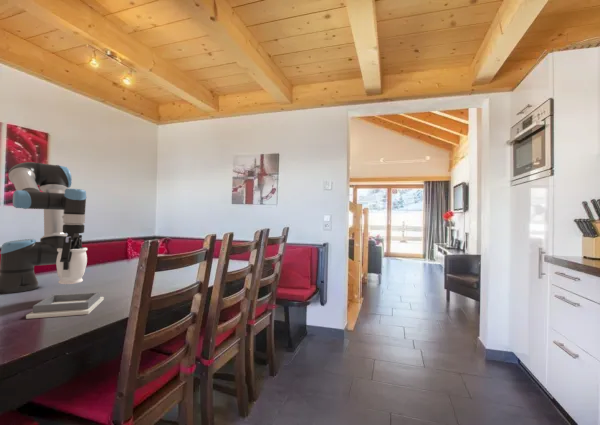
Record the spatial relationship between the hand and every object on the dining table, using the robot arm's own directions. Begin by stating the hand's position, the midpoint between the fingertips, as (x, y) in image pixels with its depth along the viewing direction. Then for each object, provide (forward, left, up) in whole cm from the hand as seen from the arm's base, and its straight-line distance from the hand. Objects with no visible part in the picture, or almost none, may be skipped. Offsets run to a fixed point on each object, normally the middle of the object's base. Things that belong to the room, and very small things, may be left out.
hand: (71, 274), depth 127 cm
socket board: (+17, +5, -10) cm, 21 cm away
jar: (0, 0, -4) cm, 4 cm away
